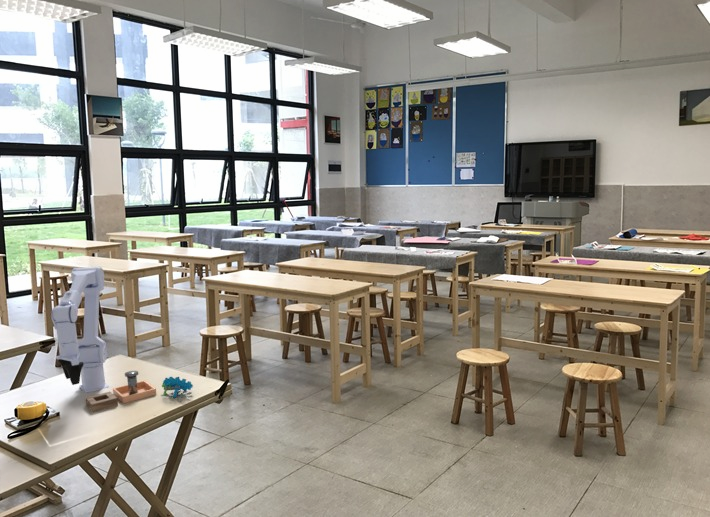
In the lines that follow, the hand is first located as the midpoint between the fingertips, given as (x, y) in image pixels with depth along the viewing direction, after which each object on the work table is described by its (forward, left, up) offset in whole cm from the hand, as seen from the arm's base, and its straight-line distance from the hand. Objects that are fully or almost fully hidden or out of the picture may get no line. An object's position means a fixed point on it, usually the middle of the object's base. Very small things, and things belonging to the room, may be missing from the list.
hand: (72, 380), depth 200 cm
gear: (+13, +30, -10) cm, 34 cm away
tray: (+3, +19, -9) cm, 21 cm away
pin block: (+5, +7, -9) cm, 13 cm away
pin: (+3, +18, -9) cm, 20 cm away
